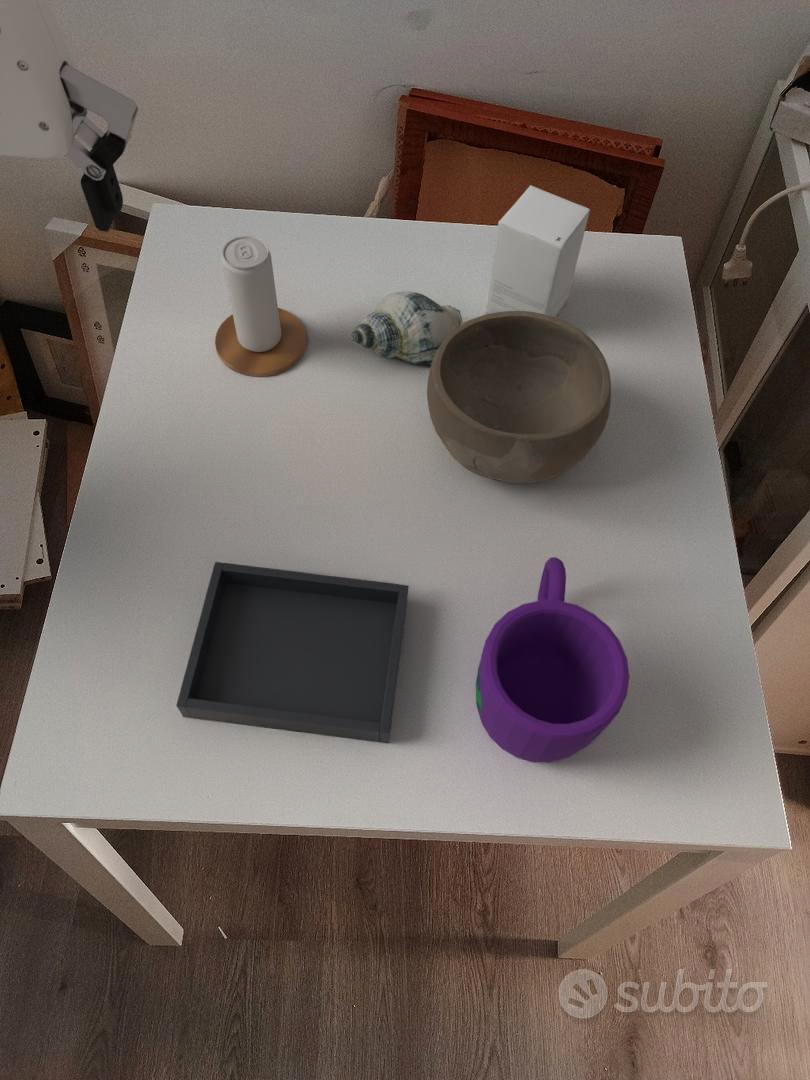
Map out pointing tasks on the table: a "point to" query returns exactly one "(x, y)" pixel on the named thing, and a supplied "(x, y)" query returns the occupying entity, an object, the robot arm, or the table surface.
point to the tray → (296, 652)
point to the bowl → (518, 395)
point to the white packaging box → (536, 254)
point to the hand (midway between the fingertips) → (40, 210)
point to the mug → (550, 675)
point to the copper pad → (262, 362)
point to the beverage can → (252, 292)
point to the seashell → (407, 327)
